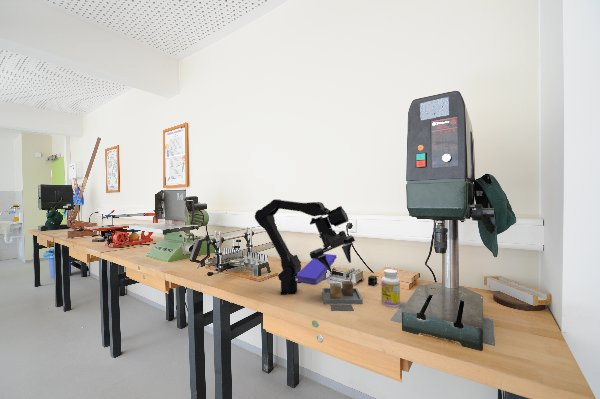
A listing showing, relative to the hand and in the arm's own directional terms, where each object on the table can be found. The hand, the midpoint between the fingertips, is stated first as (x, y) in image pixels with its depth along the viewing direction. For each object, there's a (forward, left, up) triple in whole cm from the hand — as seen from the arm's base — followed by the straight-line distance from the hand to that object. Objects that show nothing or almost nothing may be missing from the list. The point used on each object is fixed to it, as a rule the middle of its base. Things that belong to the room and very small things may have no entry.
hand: (340, 267), depth 109 cm
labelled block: (-2, -2, -13) cm, 13 cm away
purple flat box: (-8, +32, -13) cm, 35 cm away
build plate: (+17, +18, -14) cm, 28 cm away
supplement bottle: (+18, -5, -13) cm, 23 cm away
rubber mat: (-1, -10, -13) cm, 16 cm away
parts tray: (0, +1, -13) cm, 13 cm away
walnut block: (+3, +4, -13) cm, 14 cm away
